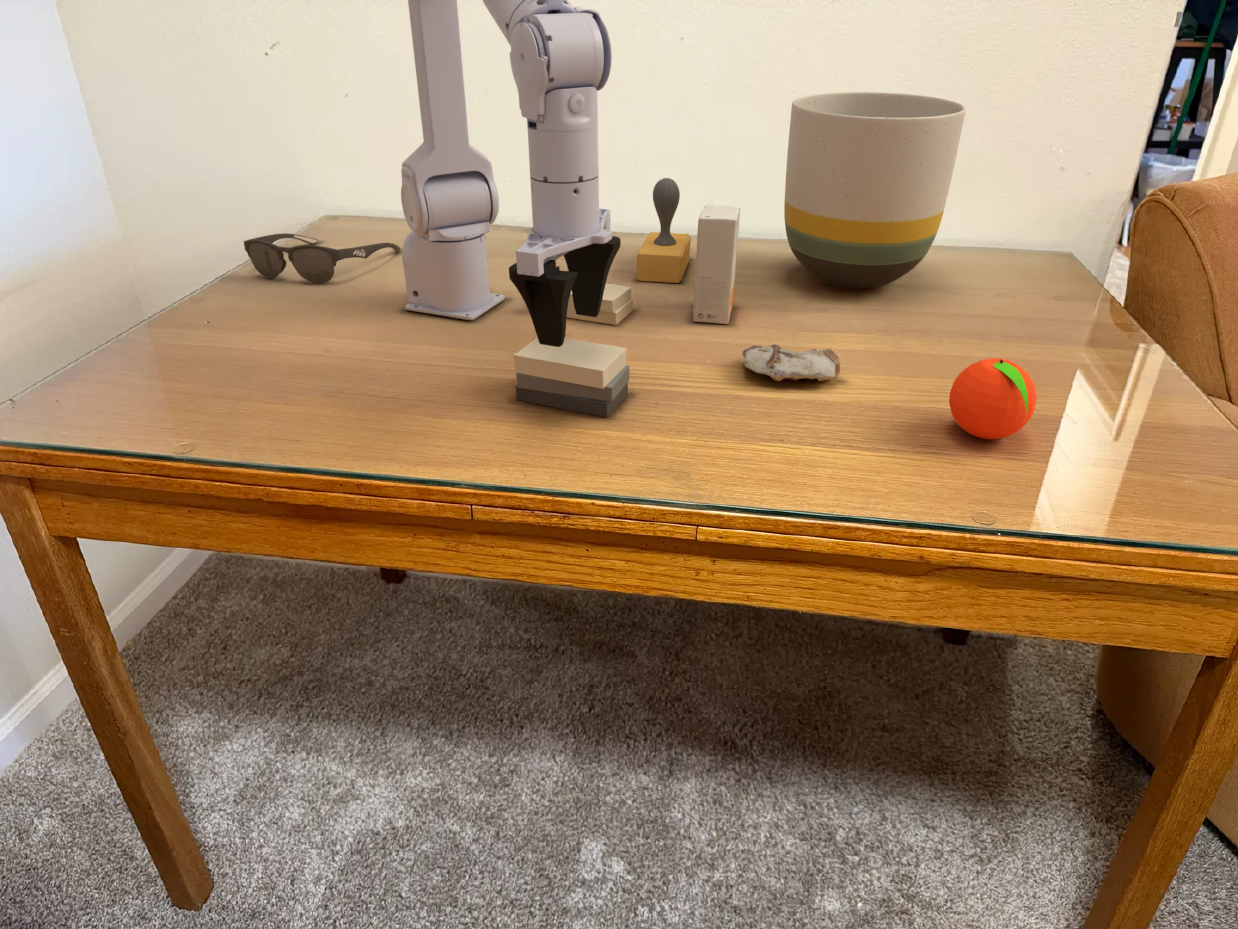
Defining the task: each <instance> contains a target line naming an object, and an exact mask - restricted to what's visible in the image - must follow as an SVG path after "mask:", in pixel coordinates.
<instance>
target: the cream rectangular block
mask: <svg viewBox="0 0 1238 929" xmlns="http://www.w3.org/2000/svg"><path fill="white" fill-rule="evenodd" d="M513 360H514V361H513V362H514V372H515V373H520V374H526V375H531V376H536V377H542V378H547V379H553V380H558V381H563V382H569V383H574V384H580V385H585V386H590V387H596V388H601V389H604V387H605V386H606V385H607V384H608V383H609V382H610V381H611V380H612V379H613V378H614V377H615V376H616V375H617V374H618V373H619V372H620V371H621V370H622V369H623V368H624V367H625V366H626V365H627V347H622V346H617V345H610V344H604V343H598V342H593V341H588V340H587V341H586V340H581V339H580V340H579V339H575V338H568V337H565V339H564V343H563V345H562V346H561V347H555V346H549V345H543V344H540V343H539V340H538V337H537V336H536V337H535V338H534V339H533V340H532V341H530V342H529V343H528V344H527V345H525V346H523V347H522V348H521V349H519V351H517V352H516V353H515V354H514V355H513Z"/></svg>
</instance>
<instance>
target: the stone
mask: <svg viewBox="0 0 1238 929" xmlns="http://www.w3.org/2000/svg"><path fill="white" fill-rule="evenodd" d="M741 354H742V355H743V364H744V367H745V368H747V369H748V370H750V371H753V372H754V373H756V374H759V375H760V374H761V375H766V376H769V377H770V378H771V379H772V380H773V381H776V382H777V381H778V382H780V381H782V380H783V379H787V380H791V381H798V380H799V379H808V380H814V379H815V380H818V381H819V382H823V381H826V380H833V379H834V380H835V379H836V378H838V377H839V376H840V373H841V362H840V357H839V356H838V355H837V353H835V351H834V350H832V349H831V348H826V349H816V348H812V349H811V350H810V349H809V350H805V351H796V350H795V351H794V350H790V349H785V348H784V349H783V348H782V347H781V346H779V345H778V344H775V343H774V344H771V345H769V346H762V345H751V346H750V347H747V348H746V349H743V350H742V351H741Z"/></svg>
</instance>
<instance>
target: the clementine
mask: <svg viewBox="0 0 1238 929" xmlns="http://www.w3.org/2000/svg"><path fill="white" fill-rule="evenodd" d="M1037 396H1038V394H1037V390H1036V384H1035V383H1034V381H1033V379H1032V377H1031V376H1030V374H1029V373H1028V372H1027V371H1026V370H1025V369H1024V368H1022V367H1021V365H1019V364H1017V363H1016V362H1013V361H1012V360H1008V359H1005V358H995V357H991V358H984V359H982V360H979V361H976V362H974V363H971V364H970V365H968V366H967V367H965V368H964V369H963V370H962V371H961V372H960V373H959V374H958V375H957V377H956V378H955V379H954V380H953V384H952V386H951V388H950V392H949V398H948V404H949V407H950V413H951V416H952V417H953V419H954V421H955V423H956V424H957V425H958V426H959V427H960V428H961V429H963V430H964V431H965V432H966V433H968V434H969V435H972V436H973V437H976V438H979V439H983V440H984V439H985V440H997V439H1002V438H1006V437H1007V438H1008V437H1010V436H1012V435H1014V434H1016V433H1017V432H1018V431H1020V430H1022V429H1023V428H1024V427H1025V425H1027V423H1028V422H1029V421H1030V420H1031V419H1032V416H1033V415H1034V412H1035V410H1036V404H1037V398H1038V397H1037Z"/></svg>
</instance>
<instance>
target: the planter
mask: <svg viewBox="0 0 1238 929" xmlns="http://www.w3.org/2000/svg"><path fill="white" fill-rule="evenodd" d="M966 111H967V110H966V106H964V105H963V104H962V103H960V102H956V101H953V100H950V99H945V98H940V97H935V96H927V95H920V94H911V93H898V92H878V91H877V92H876V91H841V92H840V91H839V92H826V93H815V94H809V95H803V96H800V97H797V98H795V99H794V100H792V103H791V110H790V122H789V133H788V144H787V155H786V166H785V168H786V170H785V183H784V184H785V185H784V186H785V187H784V204H783V206H784V209H783V210H784V211H783V213H784V228H785V233H786V238H787V243H788V245H789V248H790V250H791V253H792V254H793V256H794V257H795V259H796V260H797V261H798V263H799V264H800V265H801V266H802V267H803V268H804V269H805V270H806V271H807V272H808V273H810V274H811V275H812V276H813V277H814V278H816V279H818V280H820V281H822V282H824V283H826V284H829V285H831V286H835V287H839V288H845V289H853V290H854V289H855V290H856V289H857V290H863V289H865V290H866V289H873V288H878V287H881V286H885V285H888V284H891V283H893V282H895V281H897V280H899V279H900V278H902V277H903V276H906V275H907V274H908V273H909V272H911V271H912V270H913V269H914V268H915V267H916V266H918V265H919V264H920V263H921V262H922V261H923V259H924V258H925V257H926V255H927V254H928V252H929V251H930V249H931V247H932V245H933V243H934V241H935V239H936V236H937V234H938V232H939V229H940V225H941V222H942V219H943V216H944V212H945V207H946V203H947V200H948V195H949V192H950V186H951V182H952V179H953V174H954V170H955V164H956V159H957V155H958V150H959V146H960V141H961V136H962V130H963V127H964V126H963V125H964V120H965V116H966Z"/></svg>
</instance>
